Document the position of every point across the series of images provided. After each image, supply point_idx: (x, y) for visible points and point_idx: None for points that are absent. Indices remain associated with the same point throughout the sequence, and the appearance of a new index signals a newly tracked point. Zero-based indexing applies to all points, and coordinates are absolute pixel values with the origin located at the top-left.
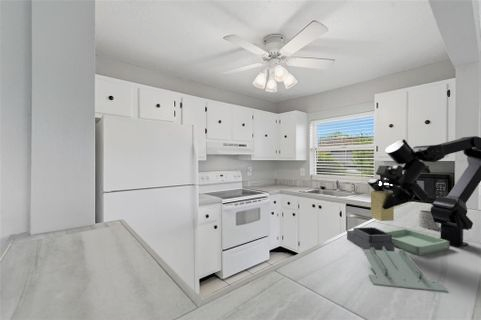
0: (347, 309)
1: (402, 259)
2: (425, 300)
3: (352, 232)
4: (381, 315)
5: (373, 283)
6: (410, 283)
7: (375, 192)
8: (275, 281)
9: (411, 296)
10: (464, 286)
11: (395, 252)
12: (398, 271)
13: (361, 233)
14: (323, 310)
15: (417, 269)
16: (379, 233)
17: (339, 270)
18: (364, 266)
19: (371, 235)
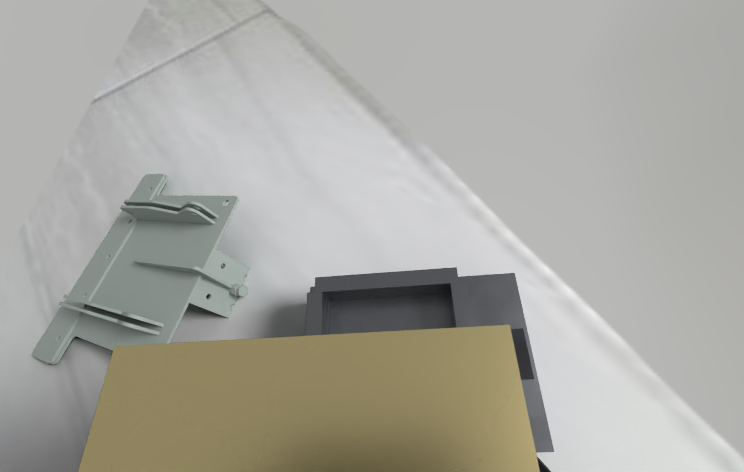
0: (110, 91)
1: (144, 314)
2: (52, 253)
3: (478, 287)
4: (73, 134)
5: (146, 176)
6: (96, 265)
7: (322, 340)
8: (226, 9)
9: (76, 232)
10: (17, 462)
11: (175, 316)
12: (131, 262)
13: (377, 275)
14: (125, 59)
15: (68, 297)
16: None
17: (229, 130)
18: None
19: (314, 295)
